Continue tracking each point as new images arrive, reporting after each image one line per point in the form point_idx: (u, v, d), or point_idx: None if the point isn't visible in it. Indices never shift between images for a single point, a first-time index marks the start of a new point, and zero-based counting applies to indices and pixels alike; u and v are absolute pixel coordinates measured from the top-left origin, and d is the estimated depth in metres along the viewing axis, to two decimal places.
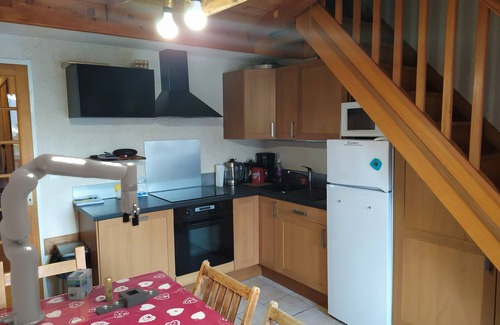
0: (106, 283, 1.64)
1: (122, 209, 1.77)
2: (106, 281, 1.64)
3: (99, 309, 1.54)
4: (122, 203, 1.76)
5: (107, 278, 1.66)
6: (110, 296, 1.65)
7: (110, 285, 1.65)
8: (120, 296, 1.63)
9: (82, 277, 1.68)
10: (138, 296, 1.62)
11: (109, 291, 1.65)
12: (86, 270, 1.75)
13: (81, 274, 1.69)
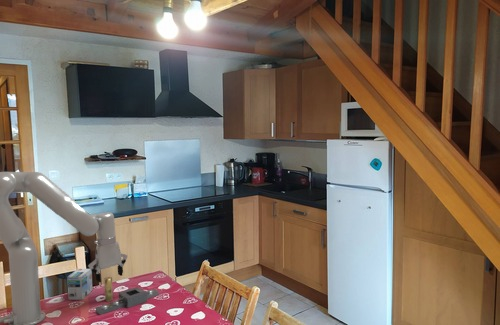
0: (106, 283, 1.64)
1: (106, 265, 1.62)
2: (106, 281, 1.64)
3: (99, 309, 1.54)
4: (106, 258, 1.62)
5: (107, 278, 1.66)
6: (110, 296, 1.65)
7: (110, 285, 1.65)
8: (120, 296, 1.63)
9: (82, 277, 1.68)
10: (138, 296, 1.62)
11: (109, 291, 1.65)
12: (86, 270, 1.75)
13: (81, 274, 1.69)
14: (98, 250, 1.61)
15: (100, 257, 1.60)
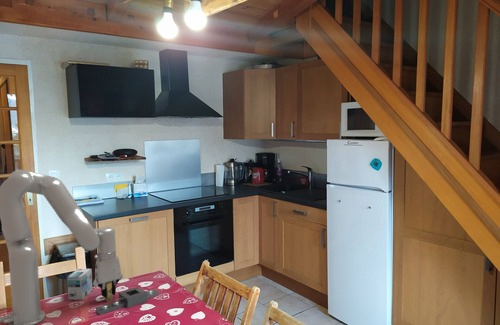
0: (106, 283, 1.64)
1: (105, 280, 1.62)
2: None
3: (99, 309, 1.54)
4: (105, 273, 1.62)
5: None
6: (110, 296, 1.65)
7: (110, 285, 1.65)
8: (120, 296, 1.63)
9: (82, 277, 1.68)
10: (138, 296, 1.62)
11: (109, 291, 1.65)
12: (86, 270, 1.75)
13: (81, 274, 1.69)
14: (98, 265, 1.61)
15: (100, 272, 1.61)
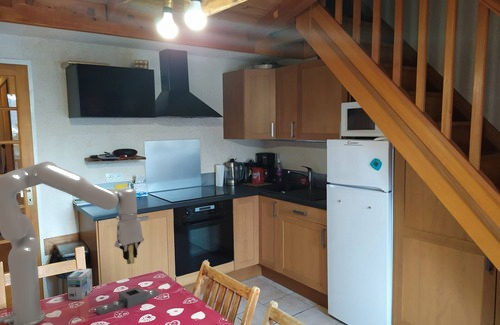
0: (128, 245, 1.62)
1: (127, 241, 1.59)
2: None
3: (99, 309, 1.54)
4: (127, 234, 1.59)
5: None
6: (132, 258, 1.62)
7: (132, 247, 1.62)
8: (120, 296, 1.63)
9: (82, 277, 1.68)
10: (138, 296, 1.62)
11: (131, 253, 1.62)
12: (86, 270, 1.75)
13: (81, 274, 1.69)
14: (120, 226, 1.58)
15: (122, 233, 1.58)
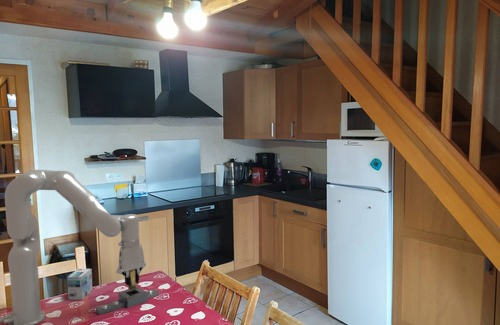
0: (130, 271, 1.62)
1: (129, 267, 1.60)
2: None
3: (99, 309, 1.54)
4: (129, 261, 1.60)
5: None
6: (134, 284, 1.63)
7: (134, 273, 1.63)
8: (120, 296, 1.63)
9: (82, 277, 1.68)
10: (138, 296, 1.62)
11: (133, 279, 1.63)
12: (86, 270, 1.75)
13: (81, 274, 1.69)
14: (122, 252, 1.59)
15: (124, 259, 1.58)
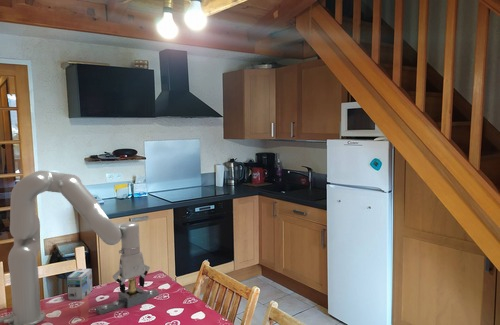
0: (130, 284, 1.63)
1: (130, 275, 1.60)
2: (130, 282, 1.62)
3: (99, 309, 1.54)
4: (130, 269, 1.60)
5: (131, 279, 1.64)
6: None
7: (134, 286, 1.63)
8: (120, 296, 1.63)
9: (82, 277, 1.68)
10: (138, 296, 1.62)
11: (133, 292, 1.63)
12: (86, 270, 1.75)
13: (81, 274, 1.69)
14: (122, 260, 1.59)
15: (124, 267, 1.59)
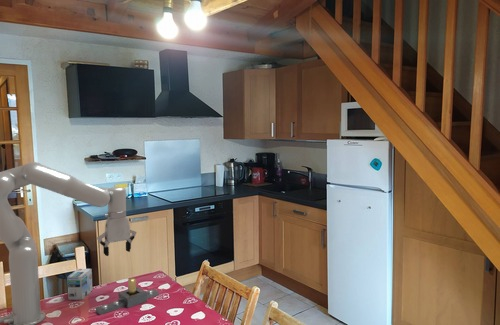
0: (130, 284, 1.63)
1: (115, 239, 1.62)
2: (130, 282, 1.62)
3: (99, 309, 1.54)
4: (115, 232, 1.62)
5: (131, 279, 1.64)
6: None
7: (134, 286, 1.63)
8: (120, 296, 1.63)
9: (82, 277, 1.68)
10: (138, 296, 1.62)
11: (133, 292, 1.63)
12: (86, 270, 1.75)
13: (81, 274, 1.69)
14: (108, 223, 1.61)
15: (109, 230, 1.60)
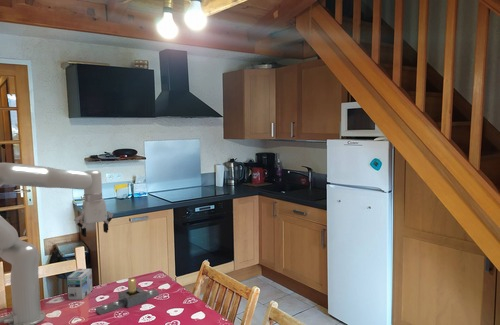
0: (130, 284, 1.63)
1: (91, 220, 1.67)
2: (130, 282, 1.62)
3: (99, 309, 1.54)
4: (92, 214, 1.67)
5: (131, 279, 1.64)
6: None
7: (134, 286, 1.63)
8: (120, 296, 1.63)
9: (82, 277, 1.68)
10: (138, 296, 1.62)
11: (133, 292, 1.63)
12: (86, 270, 1.75)
13: (81, 274, 1.69)
14: (84, 205, 1.66)
15: (86, 212, 1.65)
